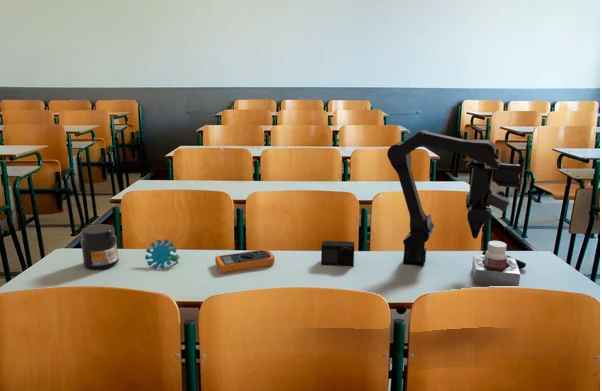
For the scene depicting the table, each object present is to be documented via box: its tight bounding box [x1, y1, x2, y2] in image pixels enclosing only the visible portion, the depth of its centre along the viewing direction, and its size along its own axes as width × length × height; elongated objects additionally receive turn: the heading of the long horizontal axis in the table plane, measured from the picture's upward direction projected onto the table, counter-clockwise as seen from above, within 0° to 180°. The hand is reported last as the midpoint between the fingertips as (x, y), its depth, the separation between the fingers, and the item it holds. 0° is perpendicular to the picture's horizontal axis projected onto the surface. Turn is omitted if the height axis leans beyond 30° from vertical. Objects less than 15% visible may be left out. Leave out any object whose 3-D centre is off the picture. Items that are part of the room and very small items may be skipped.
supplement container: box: [80, 223, 119, 271], centre depth 162 cm, size 10×10×12 cm
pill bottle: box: [484, 240, 508, 269], centre depth 152 cm, size 6×6×11 cm
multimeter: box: [214, 249, 276, 274], centre depth 163 cm, size 9×18×3 cm, turn 111°
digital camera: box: [320, 240, 355, 267], centre depth 164 cm, size 10×5×7 cm, turn 84°
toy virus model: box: [144, 238, 181, 270], centre depth 164 cm, size 11×6×10 cm
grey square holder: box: [471, 253, 521, 287], centre depth 153 cm, size 12×12×5 cm
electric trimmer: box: [481, 247, 527, 270], centre depth 166 cm, size 4×16×3 cm, turn 29°
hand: (474, 233), depth 156 cm, fingers open, 9 cm apart
